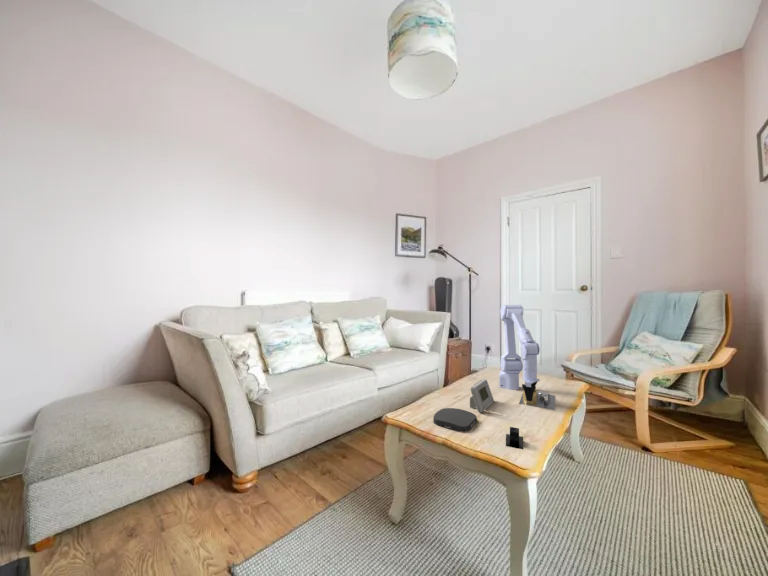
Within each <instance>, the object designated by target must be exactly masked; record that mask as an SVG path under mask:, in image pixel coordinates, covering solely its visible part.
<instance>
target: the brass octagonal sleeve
mask: <svg viewBox="0 0 768 576" xmlns="http://www.w3.org/2000/svg"><path fill="white" fill-rule="evenodd" d="M537 392H538V390H537V391H536V390H534V393H533V398H532V402H530V401H527V400H526V396H525V392H524V389H523V388H522V394H523V401H524V402H526V403H530V404H536V403H537Z"/></svg>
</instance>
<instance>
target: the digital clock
mask: <svg viewBox="0 0 768 576" xmlns="http://www.w3.org/2000/svg"><path fill="white" fill-rule="evenodd" d="M470 392H471V396H470V397H469V408H470V409H474V410H477V412H479V413H483V412H485V411H486V409H488V408H489V407H490V406H491V405H492V404H493V403H494V401H495V400H494V397H493V393H492V391H491V388H490V385H489V383H488V380H487V379H486V378H483V379H481V380H479V381H478V382H476V383H475V384H474V385H472V386H471V387H470Z"/></svg>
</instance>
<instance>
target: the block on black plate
mask: <svg viewBox="0 0 768 576" xmlns="http://www.w3.org/2000/svg"><path fill="white" fill-rule="evenodd" d="M505 447H507V448H514V449H519V450H524V436H521V435H520V428H518V427H514V426H510V427H509V433H506V434H505Z"/></svg>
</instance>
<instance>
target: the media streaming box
mask: <svg viewBox="0 0 768 576" xmlns="http://www.w3.org/2000/svg"><path fill="white" fill-rule="evenodd" d="M477 422H478V420H477V414H475V413H473V412H471V411H468V410H465V409H462V408H455V407H446V408H445V407H444V408H442V409H439V410H438V411H436V412H435V413H434V415H433V423H434V424H435V425H437V426H438V427H442V428H446V429H449V430H453V431H457V432H468V431H470V430H471V429H472V428H473V427H475V425H476V424H477Z"/></svg>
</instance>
